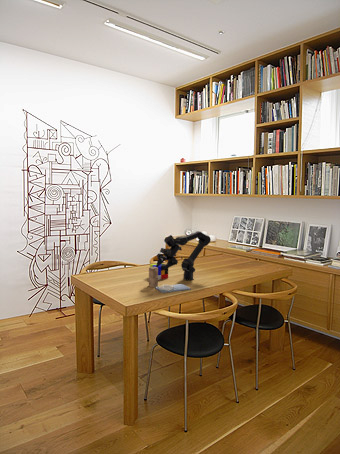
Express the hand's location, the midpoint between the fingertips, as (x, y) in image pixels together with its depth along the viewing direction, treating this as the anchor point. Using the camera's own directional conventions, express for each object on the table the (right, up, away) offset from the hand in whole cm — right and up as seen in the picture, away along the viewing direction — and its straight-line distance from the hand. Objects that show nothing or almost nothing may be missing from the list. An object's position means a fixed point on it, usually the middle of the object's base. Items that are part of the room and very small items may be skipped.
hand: (160, 268), depth 235 cm
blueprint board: (+9, -13, -8) cm, 18 cm away
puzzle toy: (-2, -10, +22) cm, 24 cm away
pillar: (-5, -12, -2) cm, 13 cm away
